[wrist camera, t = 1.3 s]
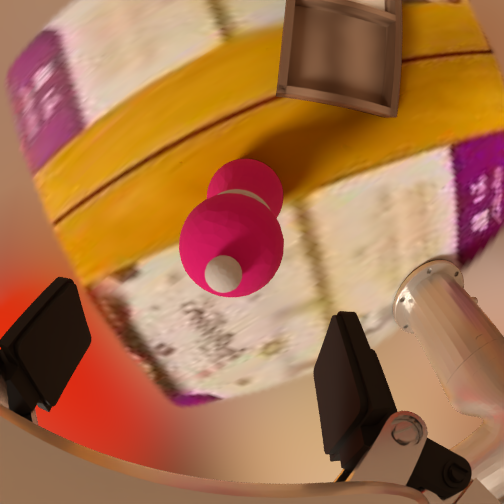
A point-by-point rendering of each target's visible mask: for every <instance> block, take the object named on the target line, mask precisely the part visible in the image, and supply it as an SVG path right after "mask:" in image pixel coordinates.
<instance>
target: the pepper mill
mask: <svg viewBox="0 0 504 504" xmlns="http://www.w3.org/2000/svg"><path fill="white" fill-rule="evenodd" d="M282 203H283V188H282V184H281V182H280V180H279V178H278V176H277V175H276V173H275V172H274V171H273V170H272V169H271V168H270V167H269V166H267V165H266V164H264V163H262V162H260V161H257V160H254V159H237V160H234V161H231V162H229V163H227V164H225V165H223V166H222V167H221V168H220V169H219V170H218V171H217V172H216V173H215V174H214V176H213V178H212V180H211V182H210V184H209V187H208V191H207V199H206V200H205V201H203V202H202V203H200V204H199V205H198V206H197V207H195V208H194V209H193V211H192V212H191V213H190V214H189V215H188V217H187V219H186V221H185V223H184V225H183V228H182V231H181V234H180V243H179V251H180V256H181V261H182V264H183V266H184V268H185V271H186V272H187V274H188V275H189V276H190V278H191V279H192V280H193V281H194V282H195V283H196V284H197V285H199V286H200V287H201V288H203V289H204V290H206V291H208V292H210V293H212V294H215V295H218V296H223V297H241V296H246V295H249V294H251V293H254V292H256V291H258V290H259V289H261V288H262V287H264V286H265V285H266V284H267V283H268V282H269V281H270V280H271V279H272V278H273V277H274V275H275V273H276V271H277V270H278V268H279V266H280V263H281V260H282V256H283V247H284V239H283V235H282V231H281V227H280V224H279V222H278V221H277V219H276V218H277V217H278V215H279V213H280V211H281V208H282Z"/></svg>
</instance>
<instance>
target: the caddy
mask: <svg viewBox="0 0 504 504" xmlns="http://www.w3.org/2000/svg"><path fill="white" fill-rule="evenodd" d="M401 62H402V0H286V7H285V17H284V27H283V36H282V46H281V55H280V65H279V74H278V83H277V93H276V96H278V97H286V98H293V99H300V100H307V101H313V102H318V103H324V104H329V105H334V106H339V107H344V108H348V109H353V110H357V111H361V112H365V113H369V114H373V115H377V116H381V117H397V111H398V101H399V91H400V79H401Z"/></svg>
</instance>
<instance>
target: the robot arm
mask: <svg viewBox="0 0 504 504" xmlns="http://www.w3.org/2000/svg"><path fill="white" fill-rule="evenodd" d="M463 288H464V280H463V275H462V273H461V271H460V270H459V269H458V268H457V267H456V266H455V265H454V264H453V263H452V262H449V261H447V260H434V261H431V262H428V263H426V264H424V265H422V266H420V267H419V268H417V269H416V270H415V271H413V272H412V273H411V274H410V275H409V276H408V277H407V278H406V280H405V281H404V282H403V283H402V285H401V287H400V288H399V290H398V292H397V294H396V296H395V299H394V303H393V315H394V318H395V321H396V323H397V324H398V326H399V327H400V328H401V329H402V330H403V331H405V332H408V333H413V334H415V335H416V337H417V339H418V341H419V342H420V344H421V346H422V348H423V350H424V352H425V353H426V356H427V357H428V359H429V361H430V363H431V365H432V367H433V369H434V371H435V373H436V375H437V377H438V379H439V381H440V383H441V385H442V387H443V390H444V392H445V394H446V396H447V398H448V400H449V402H450V404H451V405H452V407H453V408H454V409H455V410H456V411H458V412H460V413H462V414H465V415H469V416H474V417H480V418H482V419H483V423H482V424H481V425H480V427H479V428H477V429H476V430H475V431H474V432H473V433H472V434H471V435H469V436H468V437H467V438H465V439H464V440H462V441H461V442H460V443H458V444H457V445H456V446H454V447H453V448H451V449H450V450H448V449H447V448H445V447H443V446H441V445H439V444H438V443H436V442H434V441H432V440H430V439H429V438H427V434H428V432H427V427H426V424H425V422H424V421H423V420H422V419H421V417H419V416H418V415H416V414H415V413H412V412H409V411H399V412H397V409H396V406H395V403H394V400H393V398H392V395H391V392H390V389H389V387H388V383H387V381H386V378H385V375H384V373H383V370H382V367H381V365H380V362H379V360H378V357H377V354H376V353H375V351H374V350H373V349H370V346H369V344H368V341H367V338H366V336H365V333H364V331H363V328H362V326H361V324H360V321H359V319H358V316H357V314H356V313H355V312H344V311H340V312H338V314H337V315H333V316H332V318H331V321H330V324H329V327H328V330H327V333H326V336H325V339H324V342H323V345H322V348H321V350H320V353H319V356H318V359H317V361H316V364H315V367H314V381H315V388H316V394H317V401H318V408H319V414H320V422H321V429H322V436H323V444H324V451H325V454H330V461H341V467H342V468H343V470H342V471H341V473H340V474H339V475H338V477H337V478H336V479H335V481H334V482H330V483H307V484H265V483H243V482H231V481H221V480H212V479H205V478H199V477H192V476H187V475H181V474H176V473H171V472H166V471H162V470H157V469H153V468H149V467H145V466H141V465H138V464H134V463H131V462H127V461H124V460H121V459H118V458H114V457H111V456H108V455H106V454H103V453H100V452H97V451H95V450H92V449H89V448H87V447H84V446H82V445H79V444H77V443H74V442H72V441H70V440H67V439H65V438H63V437H61V436H58V435H56V434H54V433H52V432H50V431H48V430H46V429H44V428H42V427H40V426H38V421H37V417H36V412H35V407H36V405H38V407H40V408H42V409H43V410H46V411H48V412H49V411H50V410H51V408H52V406H55V405H56V403H57V402H58V399H59V398H60V396H61V394H62V392H63V390H64V388H65V387H66V385H67V383H68V381H69V380H70V378H71V376H72V374H73V373H74V371H75V369H76V367H77V365H78V364H79V362H80V361H81V359H82V357H83V355H84V354H85V352H86V351H87V349H88V347H89V345H90V343H91V334H90V331H89V328H88V325H87V322H86V319H85V316H84V312H83V308H82V305H81V301H80V297H79V294H78V290H77V286H76V284H74V282H73V280H72V279H68V278H63V277H58V278H56V279H55V280H54V281H53V282H52V283H51V284H50V285H49V287H47V288H46V289H45V290H44V291H43V292H42V293H41V295H40V296H39V297H38V298H37V299H36V300H35V301H34V302H33V303H32V304H31V305H30V306H29V307H28V308H27V310H25V312H24V313H23V314H22V315H21V316H20V317H19V318H18V319H17V321H16V322H15V323H14V324H13V325H12V326H11V327H10V329H9V330H8V331H7V332H6V333H5V334H4V336H3V337H2V338H1V339H0V347H1V350H0V504H504V337H503V335H502V334H501V333H500V332H499V330H498V329H497V328H496V326H495V325H494V324H493V323H492V321H491V320H490V319H489V318H488V316H487V315H486V314H485V313H484V312H483V311H482V309H481V308H480V307H479V306H478V305H477V302H478V300H477V298H476V297H470V295H469V294H468V293H467V292H466V291H465V290H464V289H463Z"/></svg>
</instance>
